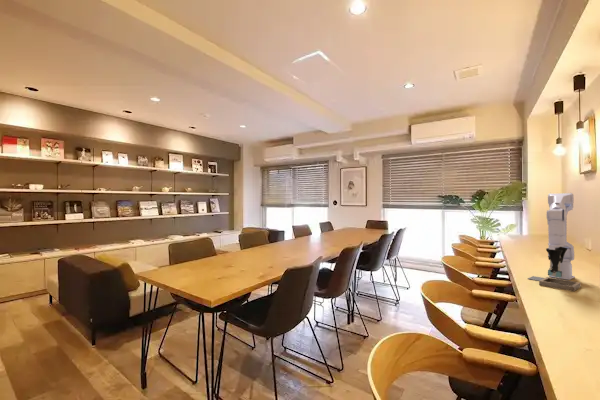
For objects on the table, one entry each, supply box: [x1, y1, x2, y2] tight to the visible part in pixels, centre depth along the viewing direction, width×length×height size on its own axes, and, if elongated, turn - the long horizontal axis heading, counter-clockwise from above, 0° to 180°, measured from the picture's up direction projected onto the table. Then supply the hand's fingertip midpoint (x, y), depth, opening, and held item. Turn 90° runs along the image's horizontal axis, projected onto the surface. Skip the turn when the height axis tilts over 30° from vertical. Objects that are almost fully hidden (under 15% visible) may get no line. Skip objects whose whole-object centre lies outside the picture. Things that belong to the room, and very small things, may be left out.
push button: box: [547, 255, 565, 277], centre depth 133 cm, size 7×5×10 cm
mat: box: [527, 275, 545, 282], centre depth 143 cm, size 8×7×1 cm
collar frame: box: [538, 277, 582, 292], centre depth 132 cm, size 11×12×2 cm
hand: (557, 263), depth 133 cm, fingers closed on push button, 5 cm apart
